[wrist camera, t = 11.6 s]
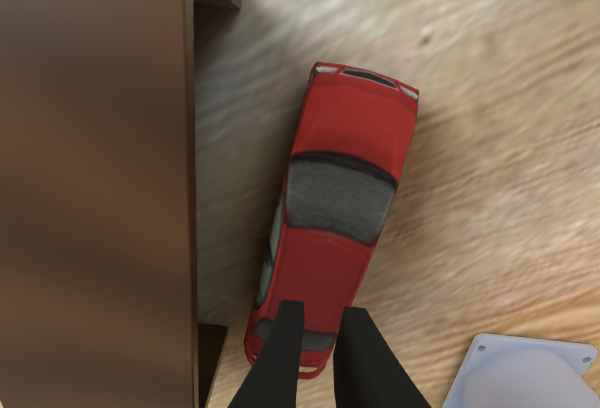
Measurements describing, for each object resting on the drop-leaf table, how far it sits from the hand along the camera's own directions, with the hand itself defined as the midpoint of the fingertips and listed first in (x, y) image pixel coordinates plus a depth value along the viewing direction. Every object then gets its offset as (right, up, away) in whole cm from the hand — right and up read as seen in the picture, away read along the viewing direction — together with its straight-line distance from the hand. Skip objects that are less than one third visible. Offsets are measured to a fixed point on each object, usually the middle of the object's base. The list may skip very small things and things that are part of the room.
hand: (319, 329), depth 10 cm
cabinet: (-8, +4, +7) cm, 12 cm away
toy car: (0, +3, +8) cm, 9 cm away
